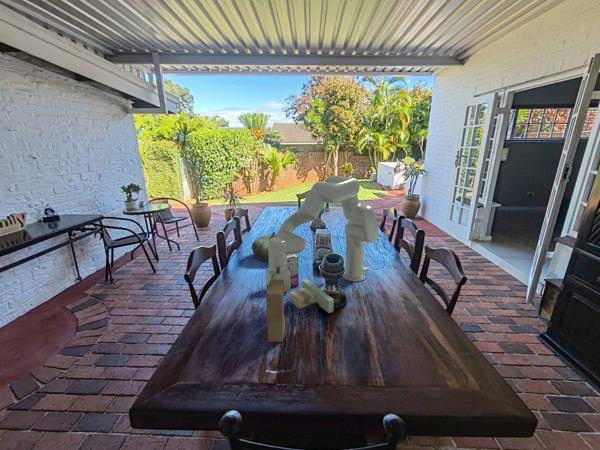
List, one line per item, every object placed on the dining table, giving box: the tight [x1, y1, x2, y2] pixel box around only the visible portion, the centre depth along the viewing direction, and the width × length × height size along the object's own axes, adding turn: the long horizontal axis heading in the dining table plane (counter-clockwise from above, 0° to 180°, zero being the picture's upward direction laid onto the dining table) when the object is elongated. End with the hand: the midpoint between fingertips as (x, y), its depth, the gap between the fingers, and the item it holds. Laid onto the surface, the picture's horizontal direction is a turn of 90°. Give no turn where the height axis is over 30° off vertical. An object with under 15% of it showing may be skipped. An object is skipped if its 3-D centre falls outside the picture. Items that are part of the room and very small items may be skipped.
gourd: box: [251, 231, 277, 262], centre depth 176 cm, size 25×25×17 cm
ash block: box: [289, 287, 317, 310], centre depth 128 cm, size 9×8×4 cm
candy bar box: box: [287, 254, 299, 288], centre depth 141 cm, size 11×5×16 cm, turn 105°
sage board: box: [301, 278, 335, 314], centre depth 129 cm, size 2×22×6 cm, turn 31°
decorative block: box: [265, 280, 286, 343], centre depth 105 cm, size 11×6×20 cm, turn 178°
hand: (279, 306), depth 120 cm, fingers closed
